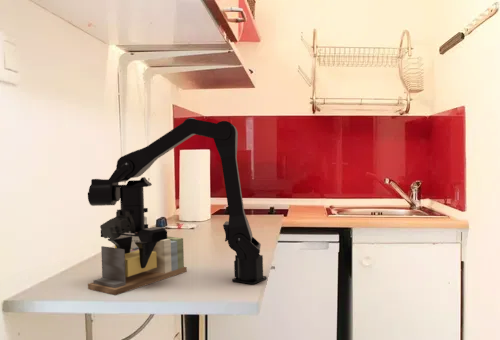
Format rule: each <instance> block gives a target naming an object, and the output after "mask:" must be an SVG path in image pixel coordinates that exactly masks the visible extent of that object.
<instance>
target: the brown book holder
mask: <svg viewBox="0 0 500 340" xmlns="http://www.w3.org/2000/svg"><path fill="white" fill-rule="evenodd" d="M152 252H156V257H157V267H156V268H153V269H150V270H147V271H144V272H141V273H138V274H135V275H132V276H129V277H127V276H125V249H119V248H115V247H110V246H103V245H102V246H101V276H102V277H100V278H96V279H93V280H92V282H90V283H88V284H87V289H88V290H93V291H97V292H99V293H100V292H102V293H105V294H108V295H114V296H117V295H120V294H123V293H126V292H129V291H132V290H135V289H138V288H141V287H145V286H147V285H150V284H154V283H156V282H159V281H162V280H165V279H168V278H172V277H175V276H177V275H180V274H183V273H187V272H188V271H187V267H186V266H185V259H184V258H185V257H184V255H185V254H184V238H183V237H176V236H168V235H167V239H164V240H160V241H159V242H157V243H156V245H155V247H154V249H153V251H152Z"/></svg>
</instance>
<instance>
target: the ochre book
mask: <svg viewBox="0 0 500 340" xmlns="http://www.w3.org/2000/svg"><path fill="white" fill-rule="evenodd" d="M156 267H157V257H156V252H152V253H151V255H150V258H149V260H148V262H147V265H146V267H145V268H141V265H140V255H139V250H138V251H134V252H130V253H127V254H125V276H127V277H129V276H132V275H135V274H138V273H141V272H144V271H147V270H150V269H153V268H156Z"/></svg>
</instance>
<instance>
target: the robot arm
mask: <svg viewBox="0 0 500 340" xmlns="http://www.w3.org/2000/svg"><path fill="white" fill-rule="evenodd" d="M238 133H239V132H238V130H237V127H236V126H235V125H234V124H232V123H231V122H229V121H227V120H221V121H219V122H211V121H207V120H206V121H205V120H199V119H197V118H194V117H188V118H186V119H185V120H184V121H183V122H182V123H180V124H179V125H177V126H176V127H174V128H173V129H170V130H169V131H168V132H167V133H165V134H163V135H162V136H160V137H159V138H158V139H156V140H154V141H153V142H151V143H150V144H148V145H147V146H145V147H143V148H140V149H136V150H133V151H132V152H129V153H127V154H124V155H123V156H120V157H119V158H118V159H117V161H116V166H115V168H116V169H115V170H114V171H113V172H112V174H111V175H110V177H109V178H108V179H105V178H103V179H102V178H101V179H100V178H92V179H91V181H90V183H91V184H90V186H89V188H88V191H87V200H88V203H89V205H90V206H92V207H95V206H98V207H99V206H101V207H102V206H105V207H106V206H115V205H116V204H117V202H119V203H120V209H116V212H115V214H116V215H115V217H112V218H111V219H109V220H107V221H106V222H103V223H102V224H100V226H99V227H100V238H104V239H107V241H108V242H111V243H112V244H113V245H114V246H115V245H116V247H117V248H119V249H125V254H127V253H130V249H131V243H132V236H135V237H139V239H140V241H139V242H135V244H136V245H137V246H138V247H139V255H140V265H141V268H145V267H146V265H147V262H148V260H149V258H150V255H151V253H152V251H153V249H154V247H155V245H156V243H157V242H159V241H160V240H164V239H167V236H168V230H167V229H166V228H165V227H161V226H160V227H157V226H154V227H153V226H152V227H149V223H147V224H145V222H144V216H145V213H148V212H149V211H148V210H149V209H148V207H145V200H144V199H145V197H144V187H145V188H147V187H151V186H152V182H150V181H149V180H148V179H147V178H146V177H145V176H144V177H141V176H142V175H144V174H145V173H146V172H147V170H149V169H150V168H151V167H152V165H153V164H154V163H155V162H156V161H157V160H158V159H160V158H161V157H163V156H164V155H165V154H168V152H170V151H172V150H174V149H175V148H176V147H178V146H179V145H181V144H182V143H184V142H185V141H187V140H188V139H191V137H193V136H195V135H196V136H200V137H205V138H210V139H212V140H214V141H213V142H214V145H215V147H216V150H217V153H218V155H219V158H220V160H221V167H222V173H223V174H222V175H223V181H224V188H225V194H226V195H225V196H226V201H227V202H226V203H227V209H228V221H225V222H224V223H223V225H222V227H223V229H224V230H223V231H224V233H225V239H224V242H227V244H228V247H229V248H230V249H231V250H233V251H234V252H235V257H234V258H235V259H234V261H233V263H234V265H233V269H234V271H233V272H234V278H232V279H231V281H232V282H236V283H241V284H249V285H256V284H257V283H259V282H261V281H264V280H266V279H267V278H268V277H267V275H264V263H263V262H264V258H263V257H264V255H263V254H260V253H261V243H260V242H259V241H258V240H257V239H256V238H255V237H254V236H253V233H252V230H251V229H252V228H251V226H250V223H249V220H248V217H247V215H246V212H245V208H244V201H243V195H242V188H241V187H242V186H241V180H240V174H239V166H238V160H237V159H238V158H237V157H238V156H237V155H238V137H239V134H238ZM138 177H141V178H140V179H139V180H135V179H134V178H138ZM130 179H131V180H130ZM133 179H134V180H133ZM123 182H127V183H126V184H119V183H123ZM146 228H147V229H146Z"/></svg>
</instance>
